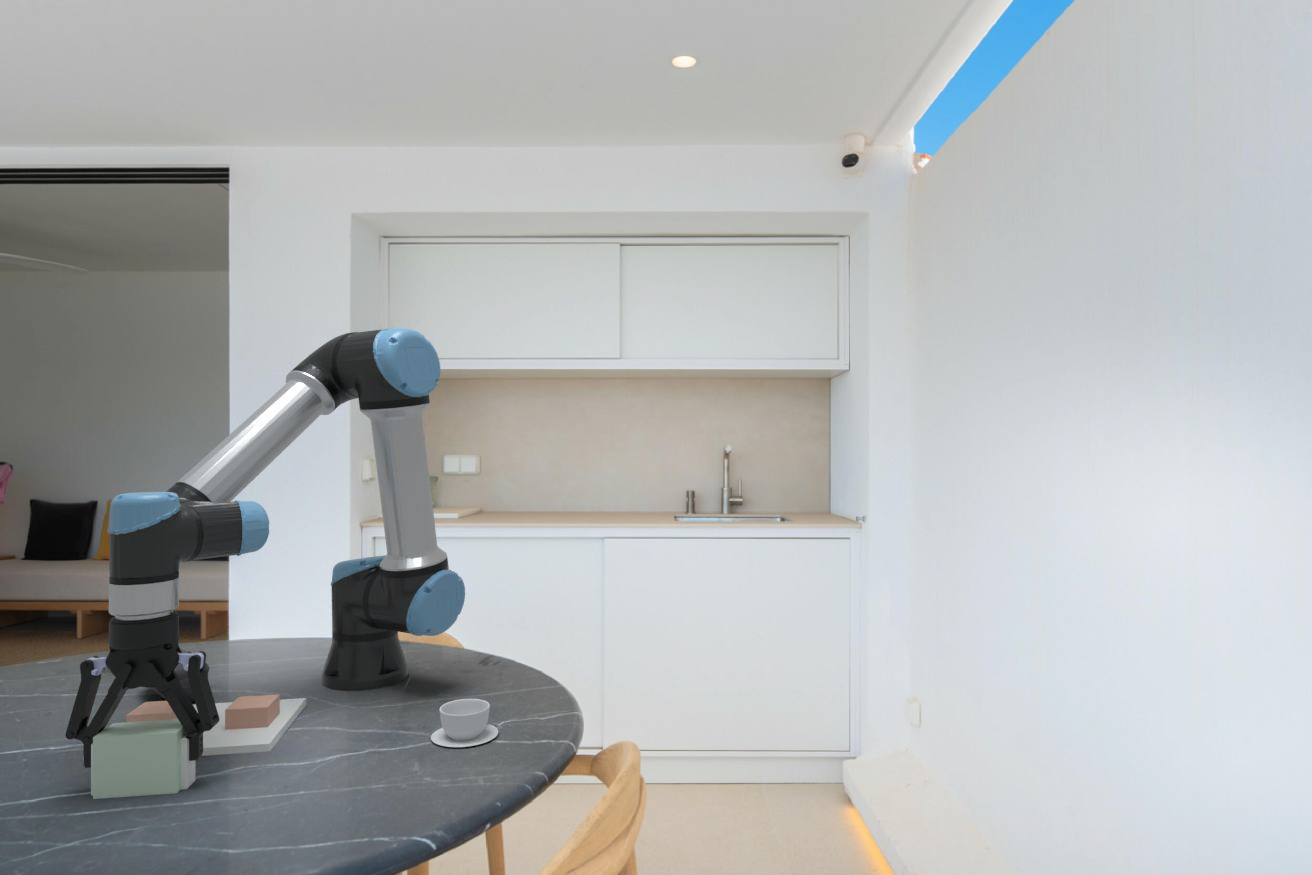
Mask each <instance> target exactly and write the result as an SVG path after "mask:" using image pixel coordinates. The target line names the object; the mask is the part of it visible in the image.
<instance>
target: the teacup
mask: <svg viewBox="0 0 1312 875" xmlns="http://www.w3.org/2000/svg"><path fill="white" fill-rule="evenodd" d="M490 707H491V705H490V702H488V701H487V700H485V699H479V698H462V699H461V698H460V699H454V700H452V701H451V700H450V701H447V702H446V703H443V704H442V705H441V706H440V707H439V718H440V723H441V727H440V728H438V729H436V730H434V731H433V732H432V734H431V735H430V741H431V742H432V743H433V744H435V745H438V746H440V747H447V748H466V747H467V748H468V747H473V746H479V745H482V744H485V743H488V742H490V741H492V740H493V739H495V738H497V736H498V734H499V728H497V727H496V726H494V725H492V724H490V723H488V722H489V717H490V716H489V715H490V710H491V709H490Z"/></svg>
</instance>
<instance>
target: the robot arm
mask: <svg viewBox="0 0 1312 875" xmlns="http://www.w3.org/2000/svg"><path fill="white" fill-rule="evenodd" d="M440 377H441V363H440V359H439V356H438V353H437V351H436V349H435V347H434V345H433V344H432V343H431V341H430V340H428V339H427V338H426V337H425V335H424V334H422V333H421V332H419V331H417V330H415V329H412V328H398V327H397V328H394V327H389V328H384V329H375V330H366V331H355V332H346V333H343V334H341V335H338V336H335V337H333V338H332V339H330V340H329V341H327V342H326V343H324V344H323V345H321V346H320V347H318V348H317V349H315V350H314V351H312V353H310V354H309V355H308V356H307V357H305V359H303V360H302V361H300V363H298V364H297V365H296V366H295V367H294V368H292V370H290V371H289V372H288V373H287V375H286V376H285V384H284V385H283V386H282V387H281V388H280V389H279V390H278V391H277V392H275V393H274V394H273V395H272V396H271V397H270V398H269V399H268V400H266V401H265V402H264V403H263V404H262V405H261V406H260V407H259V408H258V409H256V411H254V412H253V413H252V414H251V415H250V416H249V417H248V418H246V420H244V421H243V422H241V424H240V425H239V426H238V427H236V428H235V430H233V431H232V432H231V433H230V434H228V435H227V437H225V438H224V439H223V440H222V441H221V442H220V443H218V445H216V446H215V447H214V448H213V449H212V450H211V451H210V452H208V454H206V455H205V457H203V458H201V460H200V461H199V462H197V464H196V465H194V466H193V467H192V468H191V469H190V470H189V471H188V472H187V473H185V474H184V475H183V476H182V477H181V478H180V479H178V481H177V482H175V483H174V484H173V485H171V487H170V488H168V490H166V491H147V492H142V491H141V492H127V493H125V492H124V493H121V494H118V495H116V496H114V497H113V499H111V502H110V507H109V516H108V528H107V533H108V546H109V547H108V551H109V553H108V554H109V559H108V560H109V561H108V562H109V563H108V564H109V570H108V571H109V580H108V581H109V582H108V583H109V584H108V586H109V587H108V589H109V590H108V591H109V592H108V614H109V615H111V616H113V617H111V618H110V619H109V621H108V646H109V651H108V655H107V656H103V657H100V656H99V655H94V656H91V657H90V658H87V659H85V660H83V661H82V662H81V663H80V665H79V670H80V683H79V686H78V690H77V694H76V697H75V701H74V703H73V707H72V710H71V714H70V717H69V721H68V724H67V727H66V731H65V738H66V739H67V740H73V739H74V740H78V741H80V742H82V745H83V756H84V757H83V756H82V764H83V766H84V769H90V796H92V797H93V737H95V736H96V735H97V734H99V733H100V732H102V731H103V730H104V729H106V728H107V725H108V724H109V722H110V720H111V718H112V717H113V715H114V713H115V712H116V710H117V708H118V707H119V704H120V703H121V701H122V699H123V697H124V696H125V695H126V693H127V691H128V690H132V689H133V690H134V689H136V688H140V687H142V688H146V689H147V688H148V689H152V688H154V687H156V688H157V690H158V691H159V693H161V694H163V696H164V697H165V699H166V700H167V702H168V704H169V705H170V707H171V709H172V710H173V712H174V713H175V715H176V717H177V718H178V720H179V722H180V723H181V725H182V726H183V728H184V730H185V731H186V734H185V735H184V736H183V737H182V738H181V790H187V789H189V787H190V786H192V785H193V783H194V782H195V781H196V761H198V760H199V759H200V758H201V757H203V756H202V754H203V732H205V731H209V730H211V729H212V728H213V727H214V726H215V725H216V724H217V723H218V722H219V715H218V712H217V708H216V705H215V703H216V702H215V699H214V695H213V692H212V689H211V685H210V684H211V683H210V682H209V676H208V677H207V674H206V671H205V663H206V661H207V652H205V651H203V650H201V651H200V650H199V651H198V652H196V653H193V652H191V653H182V651H181V650H180V649H181V647H180V646H179V641H180V640H179V638H180V615H179V612H178V611H176V609H177V608H178V607H179V606H180V603H179V602H180V598H179V597H180V591H179V590H180V586H179V585H180V583H179V582H180V563H184V562H191V561H198V560H205V559H214V558H223V557H231V556H237V557H239V556H241V555H243V554H244V555H245V554H249V553H255V552H257V551H259V550H261V549H263V547H264V546H265V544H266V543H267V541H268V538H269V535H270V520H269V516H268V512H267V511H266V510H265V508H264V507H263V505H261V504H260V503H259V502H256V501H253V500H252V501H251V500H249V501H248V500H247V501H246V500H245V501H244V500H235V498H236V497H237V496H238V495H239V494H240V493H241V492H242V491H244V490H245V488H246V487H248V486H249V484H250V483H252V482H253V481H254V480H255V479H256V478H257V477H258V476H259V475H260V474H261V473H262V472H263V471H264V470H266V468H267V467H268V466H269V465H270V464H271V463H273V462H274V461H275V460H276V458H278V457H279V456H280V455H281V454H282V453H283V452H284V451H285V450H286V449H287V448H288V447H289V446H290V445H291V444H293V442H294V441H296V439H297V438H298V437H299V436H301V435H302V434H303V433H304V431H306V430H307V429H308V427H310V426H311V425H312V424H313V423H314V422H315V421H316V420H317V419H318V418H319V417H320V416H321V415H322V416H328V415H330V414H332V413H333V412H334V411H335V410H336V409H337V408H338V407H339V406H341V405H342V404H344V403H347V402H349V401H352V400H355V399H358V404H359V411H360V412H361V413H362V414H363V415H365V416H366V417H367V418H368V419H369V420H370V427H371V432H372V439H373V440H372V441H373V449H374V450H373V451H374V457H375V466H376V472H377V480H378V490H379V497H380V505H381V514H382V521H383V522H382V523H383V529H384V537H385V538H384V539H385V547H386V553H387V554H386V555H377V556H376V555H375V556H368V557H361V558H354V559H350V560H349V559H348V560H343V561H339V562H337V563H336V564H335V565H334V566H333V568H332V577H331V583H330V587H331V630H332V631H331V638H332V639H331V645H330V648H329V651H328V654H327V657H326V660H325V663H324V666H323V669H322V672H321V673H322V674H321V684H322V686H323V687H324V688H326V689H329V690H332V691H341V692H358V691H370V690H376V689H382V688H386V687H390V686H393V685H395V684H399V683H400V682H402V681H404V680H406V678H407V677H408V675H409V674H408V673H409V670H408V669H409V666H408V663H407V659H406V656H405V653H404V650H403V647H402V644H401V641H400V639H399V638H400V637H399V633H405V634H410V635H413V636H417V637H422V636H425V637H434V636H439V635H442V634H443V633H445V632H447V631H448V630H449V629H450V628H451V627H452V626H453V625H454V624H455V623H456V621H457V620H458V617H459V615H460V614H461V612H462V609H463V607H464V603H465V600H466V599H465V598H466V587H465V583H464V581H463V578H462V577H461V576H459V574H458V573H457V572H455V571H453V570H451V569H450V568H449V560H448V553H447V552H446V551H444V550H443V549H441V547H439V546H438V541H437V533H436V532H437V530H436V524H435V514H434V506H433V499H432V498H433V497H432V488H431V480H430V479H431V478H430V473H429V472H430V471H429V462H428V454H427V452H428V451H427V444H426V437H425V427H424V419H423V418H424V417H423V415H424V413H425V411H426V410H427V408H429V406H430V405H431V402H430V394H431V393H432V392H433V391H434V390H435V389H436V387H437V386H438V383H437V382H439V381H440ZM233 500H234V501H233ZM179 663H182V664H183V667H184V670H186V671H188V679H189V683H190V686H191V690H192V693H193V697H194V700H195V701H194V704H196V707H197V711H198V712H197V711H196V709H195V708H194V706H193V703H192V702H191V701H190V699H189V698H188V696H187V694H186V693H185V691H184V690H183V688H182V686H181V685H180V679H179V678H178V676H177V674H176V673H175V671H174V669H175V668H176V667H177V665H178V664H179ZM106 667H107V669H108V670H109V671H110V672H111V673H112V675H113V676H114V677H115V678H114V679H113V681H112V683H111V685H110V686H109V688H108V690H107V693H106V695H105V697H104V699H103V700H102V702H101V704H100V705H99V707H98V709H97V711H96V712H95V714H94V716H93V717H92V719H91V721H90V723H89V720H90V718H91V717H90V716H91V713H92V710H93V707H94V704H95V700H96V697H97V694H98V691H99V686H100V684H101V679H102V675H103V674H104V673H105V671H106ZM165 699H164V700H165ZM166 700H165V701H166ZM83 759H84V760H83ZM181 790H180V791H181Z"/></svg>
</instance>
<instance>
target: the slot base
mask: <svg viewBox="0 0 1312 875" xmlns="http://www.w3.org/2000/svg"><path fill="white" fill-rule="evenodd" d="M280 698H281V695H280V694H279V693H278V694H265V695H264V694H263V695H262V694H261V695H248V696H247V695H246V696H245V695H244V696H239V697H237V698H236V699H235V700H233V701H231V702H229V701H227V702H215V705H216V708H217V712H218V715H219V722H218V723H217V724H216V725H215V726H214V727H213V728H212V729H211V730H209V731H205V732H203V754H202V756H201V757H203V756H205V757H206V756H221V755H233V754H234V755H238V754H240V755H241V754H255V753H269V752H271V751H272V749H273V748H274V747H275V746H276V744H277V743H278V742H279V740H280V739H281V738H283V735H285V733H286V732H287V730H288V729H289V728H291V725H292V724H293V723H294V722H295V720H296V719H297V718H298V717H299V715H300V714H301V713H302V711H303V710H304V709H305V707H307V698H306V697H302V698H301V697H299V698H285V699H284V698H282V699H280ZM192 704H193V703H192ZM193 706H194V708H195V709H196V711H197V707H196V704H195V703H194V704H193ZM197 712H198V711H197ZM173 719H178V718H177V717H176V715H175V713H174V712H173V710H172V709H171V707H170V705H169V704H168V702H167V701H166V700H158V701H157V700H155V701H145V702H143V703H141V704H140V705H139V706H137V707H136V708H135V709H133V710H131V711H130V712H129V713H127V714H126V715H125V722H140V721H157V720H173ZM83 757H84V755H82V761H83V760H84V759H83Z"/></svg>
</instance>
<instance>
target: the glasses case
mask: <svg viewBox="0 0 1312 875" xmlns="http://www.w3.org/2000/svg"><path fill="white" fill-rule="evenodd" d="M180 650H181V651H182V653H192V652H191V651H188V650H187V651H186V649H185V650H184V649H183V648H180ZM210 668H211V667H210V666H209V665H208V663H205V671H206V674H207V677H208V678H209V671H210ZM174 671H175V673H176V674H177V676H178V678H179V679H180V685H181V686H182V688H183V690H184V691H185V693H186V694H187V696H188V698H189V699H190V701H191V703H192V702H194V703H195V700H194V697H193V693H192V690H191V686H190V683H189V679H188V671H186V670H184V667H183V664H182V663H179V664H178V665H177V667H176V668H175V669H174ZM151 689H152V690H153V692H155V694H157V695H158V696H160V697H161V698H162V699H164V701H167V700H166V699H165V697H164V696H163V694H161V693H159V691H158V690H157V688H156V687H154V688H151Z"/></svg>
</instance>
